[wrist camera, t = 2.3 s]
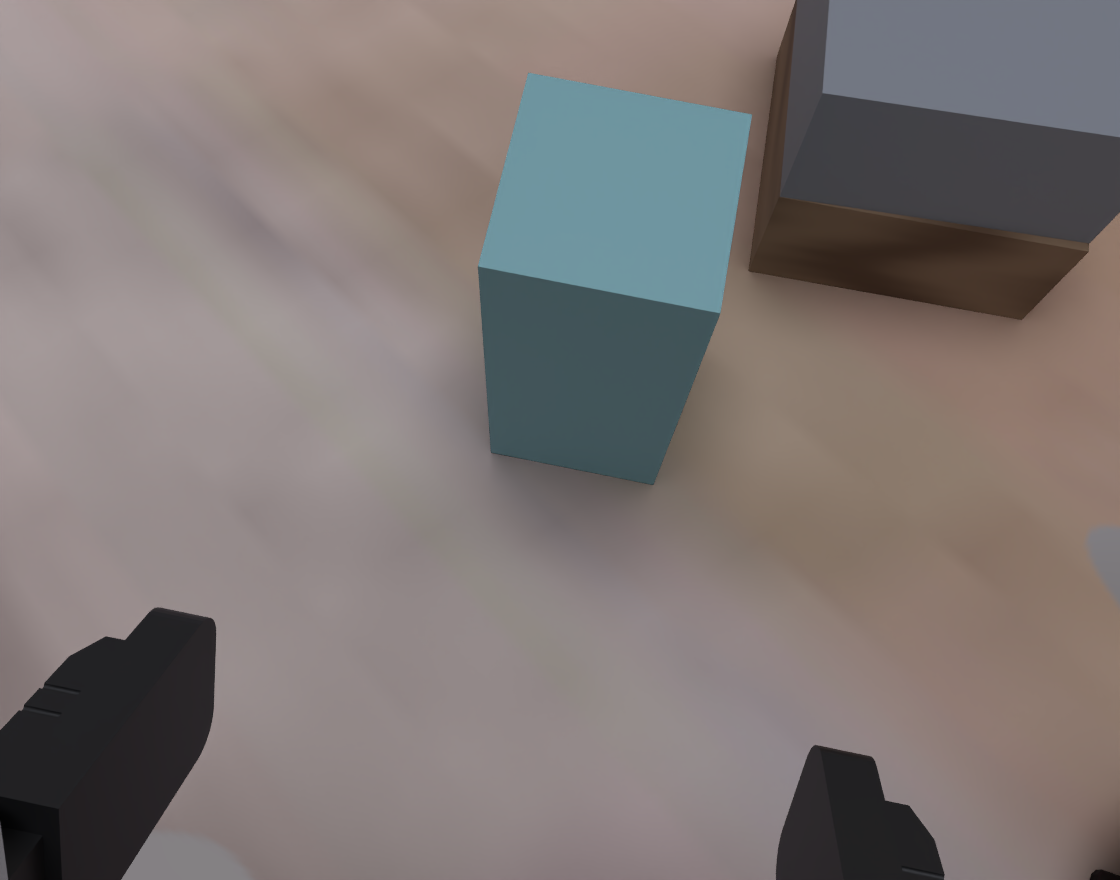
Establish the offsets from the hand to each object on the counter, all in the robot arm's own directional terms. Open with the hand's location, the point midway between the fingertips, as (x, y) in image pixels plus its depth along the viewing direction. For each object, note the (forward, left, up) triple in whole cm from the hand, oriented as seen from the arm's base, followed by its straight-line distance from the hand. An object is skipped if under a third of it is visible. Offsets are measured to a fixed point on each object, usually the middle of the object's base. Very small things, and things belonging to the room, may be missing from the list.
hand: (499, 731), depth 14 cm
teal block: (-3, +11, -15) cm, 19 cm away
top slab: (+3, +23, -11) cm, 26 cm away
